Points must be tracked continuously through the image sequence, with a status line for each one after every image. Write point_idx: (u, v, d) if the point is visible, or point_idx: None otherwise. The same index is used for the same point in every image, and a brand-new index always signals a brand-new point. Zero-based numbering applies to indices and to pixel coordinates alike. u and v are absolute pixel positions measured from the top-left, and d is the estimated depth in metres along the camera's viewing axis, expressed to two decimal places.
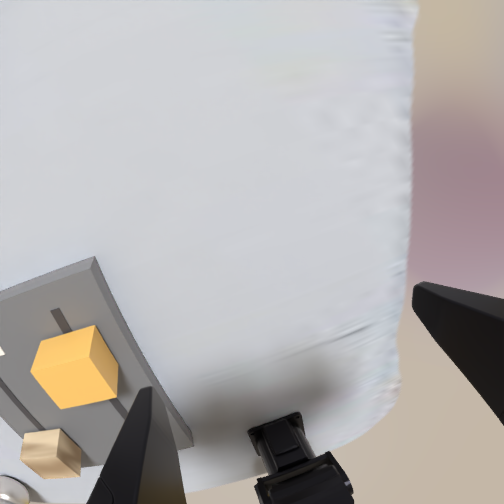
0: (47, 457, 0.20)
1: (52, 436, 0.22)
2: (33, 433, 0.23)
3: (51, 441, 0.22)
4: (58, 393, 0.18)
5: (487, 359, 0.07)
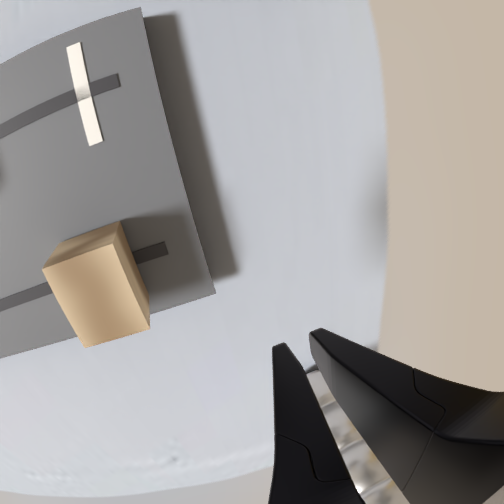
0: (52, 289, 0.14)
1: None
2: None
3: None
4: None
5: (379, 432, 0.06)
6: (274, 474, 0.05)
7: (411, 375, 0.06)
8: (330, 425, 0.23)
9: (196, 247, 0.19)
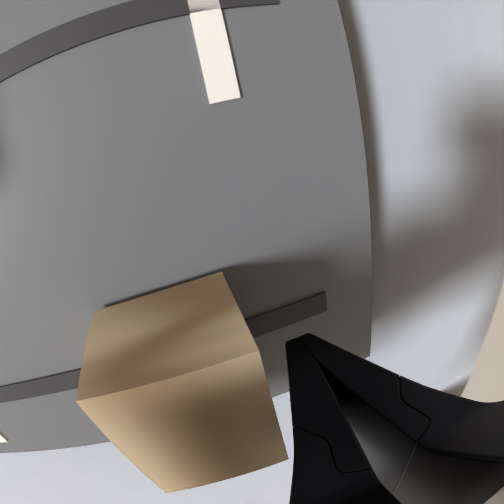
0: (102, 430, 0.06)
1: None
2: None
3: None
4: None
5: (366, 440, 0.06)
6: (295, 466, 0.05)
7: (397, 383, 0.06)
8: None
9: (365, 297, 0.12)
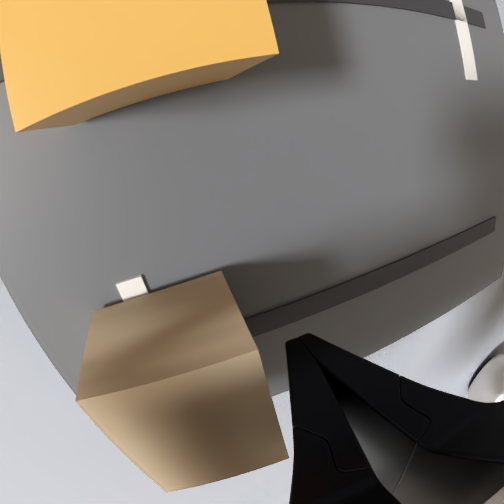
0: (102, 430, 0.06)
1: None
2: None
3: None
4: (156, 15, 0.03)
5: (366, 440, 0.06)
6: (295, 466, 0.05)
7: (397, 383, 0.06)
8: None
9: None
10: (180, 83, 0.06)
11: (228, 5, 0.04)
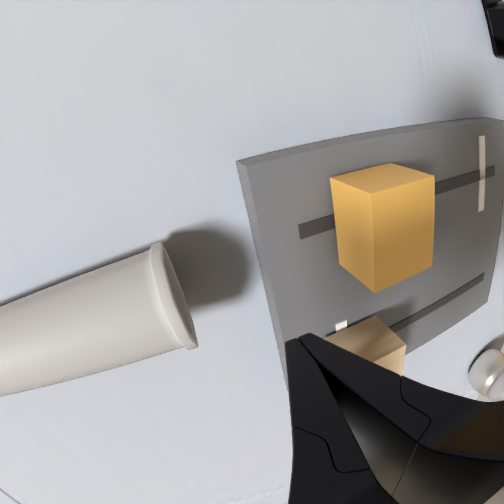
0: None
1: None
2: None
3: None
4: (411, 260, 0.15)
5: (366, 439, 0.06)
6: (294, 467, 0.05)
7: (398, 383, 0.06)
8: None
9: (491, 275, 0.25)
10: None
11: (425, 255, 0.15)
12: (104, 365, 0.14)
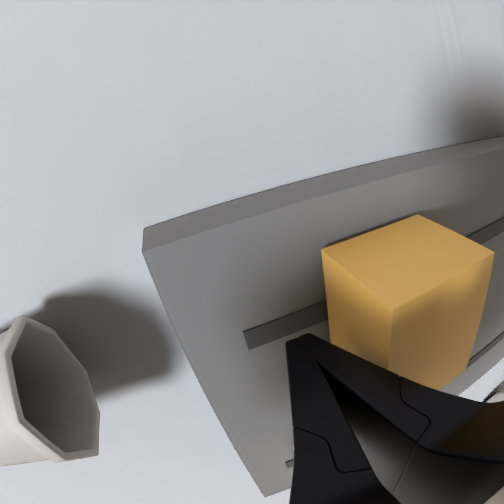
0: None
1: None
2: None
3: None
4: (439, 376, 0.09)
5: (366, 440, 0.06)
6: (295, 466, 0.05)
7: (397, 383, 0.06)
8: None
9: None
10: None
11: (459, 362, 0.09)
12: None
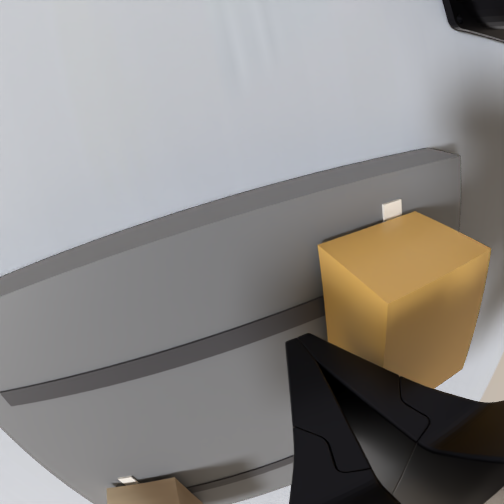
0: None
1: None
2: None
3: None
4: (436, 372, 0.09)
5: (366, 440, 0.06)
6: (295, 466, 0.05)
7: (397, 383, 0.06)
8: None
9: None
10: None
11: (456, 359, 0.09)
12: None
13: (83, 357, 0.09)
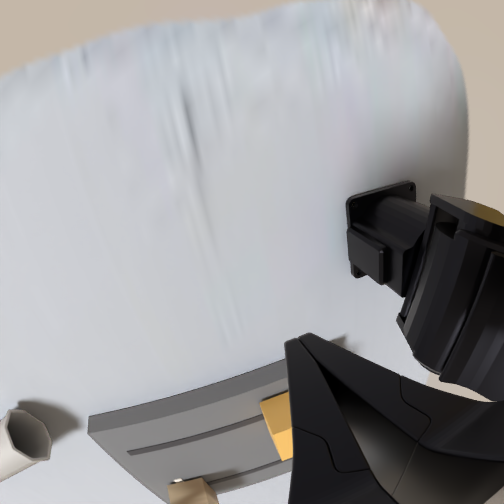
0: None
1: None
2: None
3: None
4: None
5: (366, 439, 0.06)
6: (294, 467, 0.05)
7: (398, 383, 0.06)
8: None
9: None
10: None
11: None
12: (19, 469, 0.19)
13: (170, 437, 0.24)
